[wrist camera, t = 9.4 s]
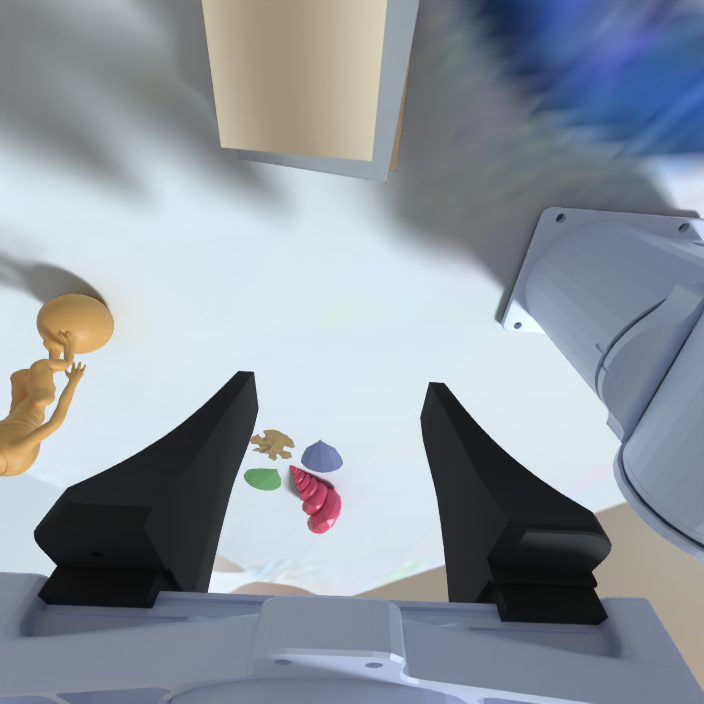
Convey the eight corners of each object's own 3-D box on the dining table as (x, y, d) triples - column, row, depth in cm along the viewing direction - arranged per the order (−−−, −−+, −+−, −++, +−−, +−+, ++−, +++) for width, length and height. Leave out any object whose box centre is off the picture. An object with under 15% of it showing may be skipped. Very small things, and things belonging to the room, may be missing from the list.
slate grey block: (413, -4, 13) (425, -32, 10) (383, 172, 16) (386, 182, 14) (254, -35, 12) (227, -72, 10) (257, 151, 16) (238, 158, 13)
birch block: (383, -3, 11) (393, -71, 7) (370, 144, 13) (371, 161, 9) (257, -16, 11) (189, -92, 7) (266, 135, 13) (220, 147, 9)
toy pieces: (377, 461, 33) (378, 503, 30) (319, 510, 39) (314, 551, 35) (267, 409, 30) (253, 450, 26) (220, 471, 35) (203, 512, 32)
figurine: (116, 261, 22) (-85, 379, 12) (180, 333, 25) (60, 474, 15) (33, 308, 24) (-192, 440, 14) (101, 369, 27) (-47, 512, 18)
